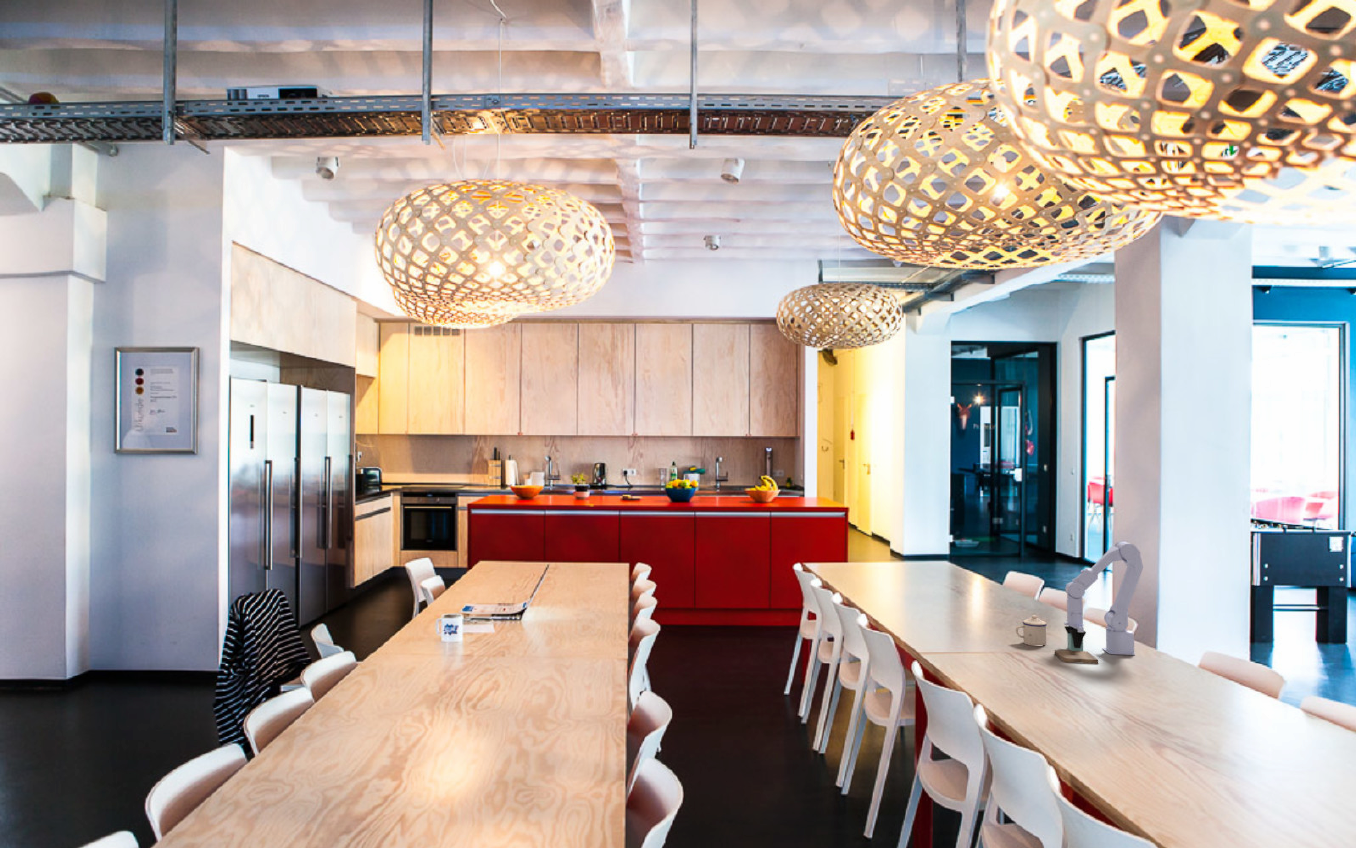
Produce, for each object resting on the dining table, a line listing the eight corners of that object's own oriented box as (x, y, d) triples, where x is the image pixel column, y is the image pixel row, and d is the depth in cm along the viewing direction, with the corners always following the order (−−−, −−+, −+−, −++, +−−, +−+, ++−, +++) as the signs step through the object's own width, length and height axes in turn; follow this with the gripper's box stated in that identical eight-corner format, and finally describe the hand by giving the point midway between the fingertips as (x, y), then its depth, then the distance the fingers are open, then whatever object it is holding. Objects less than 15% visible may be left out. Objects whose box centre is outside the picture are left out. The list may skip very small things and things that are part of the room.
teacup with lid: (1043, 641, 329) (1042, 613, 329) (1049, 647, 320) (1049, 618, 320) (1012, 640, 330) (1012, 612, 331) (1019, 646, 321) (1018, 617, 322)
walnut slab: (1087, 655, 307) (1087, 651, 307) (1098, 663, 296) (1098, 659, 296) (1054, 653, 309) (1054, 650, 309) (1064, 662, 298) (1064, 658, 298)
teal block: (1079, 648, 317) (1079, 633, 318) (1083, 651, 313) (1082, 636, 313) (1067, 648, 318) (1067, 633, 318) (1071, 651, 314) (1070, 636, 314)
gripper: (1058, 608, 324) (1059, 641, 323) (1070, 616, 309) (1070, 650, 309) (1077, 609, 323) (1077, 642, 322) (1089, 616, 308) (1089, 651, 308)
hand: (1075, 646), depth 316 cm, fingers closed on teal block, 4 cm apart
